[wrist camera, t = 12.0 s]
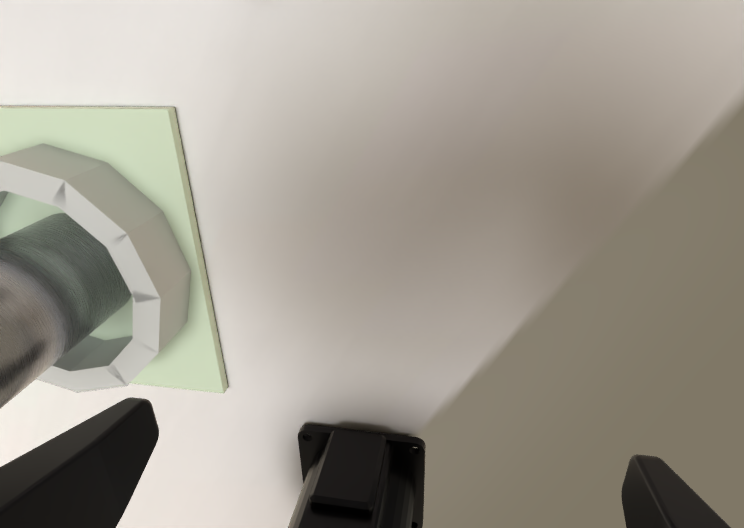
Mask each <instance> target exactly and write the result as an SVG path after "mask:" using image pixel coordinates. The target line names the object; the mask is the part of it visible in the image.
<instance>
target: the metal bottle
mask: <svg viewBox="0 0 744 528" xmlns="http://www.w3.org/2000/svg"><path fill="white" fill-rule="evenodd" d="M131 295H132V294H131V292H130V290H129V288H128V286H127V284H126V283H125V281H124V279H123V277H122V275H121V273H120V271H119V270H118V268H117V266H116V264H115V262H114V260H113V258H112V257H111V255H110V253H109V251H108V249H107V247H106V246H104V245H103V244H102V243H101V242H100V241H99V240H97V239H96V238H95V237H94V236H93V235H91V234H90V233H89V232H88V231H87V230H85V229H84V228H83V227H82V226H81V225H79V224H78V223H77V222H76V221H75V220H73V219H72V218H71V217H70V216H69V215H67V214H66V213H57V214H53V215H50V216H48V217H45V218H43V219H41V220H39V221H37V222H35V223H33V224H31V225H28V226H26V227H24V228H22V229H20V230H18V231H16V232H14V233H11V234H9V235H7V236H5V237H3V238H1V239H0V408H2V407H3V406H4V405H5V404H6V403H8V402H9V401H10V400H11V399H12V398H14V397H15V396H16V395H17V394H18V393H20V392H21V391H22V390H23V389H24V388H26V387H27V386H28V385H29V384H30V383H32V382H33V381H34V380H35V379H36V378H38V377H39V376H40V375H41V374H42V373H44V372H45V371H46V370H47V369H48V368H50V367H51V366H52V365H53V364H54V363H56V362H57V361H58V360H59V359H60V358H62V357H63V356H64V355H65V354H66V353H68V352H69V351H70V350H71V349H72V348H74V347H75V346H76V345H77V344H78V343H80V342H81V341H82V340H83V339H84V338H86V337H87V336H88V335H89V334H90V333H92V332H93V331H94V330H95V329H96V328H98V327H99V326H100V325H101V324H102V323H104V322H105V321H106V320H107V319H108V318H110V317H111V316H112V315H113V314H114V313H116V312H117V311H118V310H119V309H120V308H122V307H123V306H124V305H125V304H126V303H127V302H128V301H129V299H130V298H131Z"/></svg>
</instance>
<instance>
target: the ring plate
mask: <svg viewBox="0 0 744 528" xmlns="http://www.w3.org/2000/svg"><path fill="white" fill-rule="evenodd" d="M57 213H66V214H67V215H69V216H70V217H71V218H72V219H73V220H75V221H76V222H77V223H78V224H79V225H81V226H82V227H83V228H84V229H85V230H87V231H88V232H89V233H90V234H91V235H93V236H94V237H95V238H96V239H97V240H99V241H100V242H101V243H102V244H103V245H104V246H106V247H107V249H108V251H109V253H110V255H111V257H112V258H113V260H114V262H115V264H116V266H117V268H118V270H119V271H120V273H121V275H122V277H123V279H124V281H125V283H126V284H127V286H128V288H129V290H130V292H131V294H132V295H131V298H130V299H129V301H128V302H127V303H126V304H125V305H124V306H123V307H122V308H120V309H119V310H118V311H117V312H116V313H114V314H113V315H112V316H111V317H110V318H108V319H107V320H106V321H105V322H104V323H102V324H101V325H100V326H99V327H98V328H96V329H95V330H94V331H93V332H92V333H90V334H89V335H88V336H87V337H86V338H84V339H83V340H82V341H81V342H80V343H78V344H77V345H76V346H75V347H74V348H72V349H71V350H70V351H69V352H68V353H66V354H65V355H64V356H63V357H62V358H60V359H59V360H58V361H57V362H56V363H54V364H53V365H52V366H51V367H50V368H48V369H47V370H46V371H45V372H44V373H42V374H41V375H40V376H39V377H38V378H36V379H37V380H40V381H43V382H46V383H50V384H53V385H56V386H59V387H62V388H65V389H68V390H71V391H74V392H77V393H78V392H86V391H93V390H100V389H108V388H115V387H123V386H127V385H128V384H129V383H132V384H141V385H150V386H159V387H168V388H178V389H187V390H196V391H205V392H214V393H223V394H224V393H225V391H226V389H227V388H228V384H227V379H226V374H225V368H224V363H223V358H222V353H221V348H220V342H219V337H218V332H217V327H216V321H215V316H214V311H213V306H212V301H211V295H210V290H209V285H208V280H207V275H206V269H205V264H204V259H203V254H202V248H201V243H200V238H199V233H198V228H197V222H196V217H195V212H194V207H193V201H192V196H191V191H190V186H189V181H188V175H187V170H186V165H185V160H184V154H183V149H182V144H181V139H180V134H179V128H178V123H177V118H176V113H175V107H74V106H0V239H1V238H3V237H5V236H7V235H9V234H11V233H14V232H16V231H18V230H20V229H22V228H24V227H26V226H28V225H31V224H33V223H35V222H37V221H39V220H41V219H43V218H45V217H48V216H50V215H53V214H57Z"/></svg>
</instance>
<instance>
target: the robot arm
mask: <svg viewBox="0 0 744 528" xmlns="http://www.w3.org/2000/svg"><path fill="white" fill-rule="evenodd" d="M307 434H309V435H310V436H309V435H307ZM158 436H159V429H158V425H157V421H156V418H155V414H154V411H153V407H152V404H151V402H150V401H149V400H147V399H141V398H127V399H125V400H123V401H121V402H119V403H117V404H115V405H113V406H112V407H110V408H108V409H106V410H104V411H102V412H101V413H99V414H97V415H95V416H93V417H91V418H90V419H88V420H86V421H84V422H82V423H80V424H79V425H77V426H75V427H73V428H71V429H70V430H68V431H66V432H64V433H62V434H60V435H59V436H57V437H55V438H53V439H51V440H49V441H47V442H46V443H44V444H42V445H40V446H38V447H36V448H35V449H33V450H31V451H29V452H27V453H25V454H24V455H22V456H20V457H18V458H16V459H14V460H13V461H11V462H9V463H7V464H5V465H3V466H2V467H0V528H116V526H117V524H118V522H119V521H120V519H121V517H122V515H123V513H124V511H125V509H126V507H127V505H128V503H129V501H130V499H131V497H132V495H133V493H134V490H135V488H136V486H137V484H138V482H139V480H140V478H141V475H142V473H143V471H144V469H145V467H146V465H147V463H148V460H149V458H150V456H151V454H152V452H153V450H154V448H155V445H156V443H157V440H158ZM298 441H299V450H300V458H301V466H302V475H303V483H304V485H303V487H302V490H301V493H300V496H299V498H298V501H297V504H296V507H295V510H294V512H293V515H292V518H291V521H290V523H289V526H288V528H422V525H423V506H424V505H423V504H424V474H425V472H424V471H425V443H424V441H423V440H422V439H420V438H417V437H410V436H402V435H393V434H385V433H376V432H367V431H359V430H350V429H342V428H333V427H325V426H316V425H304V426H302V427H301V429H300V431H299V433H298ZM413 447H417V448H413ZM622 504H623V510H624V516H625V521H626V527H627V528H731V527H730V526H729V525H727V523H726V522H725V521H724V520H723V519H721V518H720V517H719V516H718V514H717V513H715V512H714V511H713V510H712V509H711V508H710V507H709V506H708V505H707V504H706V503H705V502H704V501H703V500H702V499H701V498H700V497H699V496H698V495H697V494H696V493H695V492H694V491H693V490H692V489H691V488H690V487H689V486H688V485H687V484H686V483H685V482H684V481H683V480H682V479H681V478H680V477H679V476H678V475H677V474H676V473H675V472H674V471H673V470H672V469H671V468H670V467H669V466H668V465H667V464H666V463H665V462H664V461H663V460H661V459H660V458H658V457H654V456H646V455H633V456H632V457H631V459H630V461H629V465H628V469H627V472H626V476H625V480H624V483H623V487H622Z"/></svg>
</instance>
